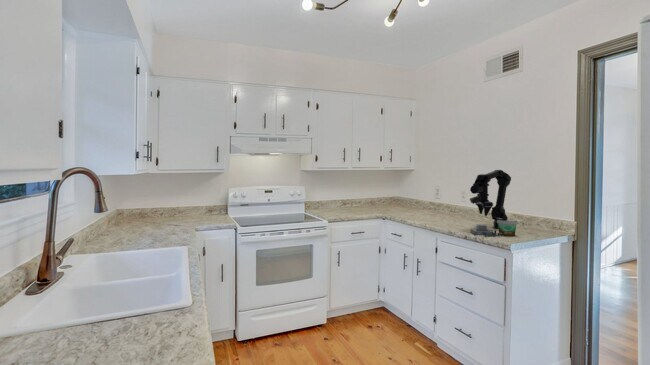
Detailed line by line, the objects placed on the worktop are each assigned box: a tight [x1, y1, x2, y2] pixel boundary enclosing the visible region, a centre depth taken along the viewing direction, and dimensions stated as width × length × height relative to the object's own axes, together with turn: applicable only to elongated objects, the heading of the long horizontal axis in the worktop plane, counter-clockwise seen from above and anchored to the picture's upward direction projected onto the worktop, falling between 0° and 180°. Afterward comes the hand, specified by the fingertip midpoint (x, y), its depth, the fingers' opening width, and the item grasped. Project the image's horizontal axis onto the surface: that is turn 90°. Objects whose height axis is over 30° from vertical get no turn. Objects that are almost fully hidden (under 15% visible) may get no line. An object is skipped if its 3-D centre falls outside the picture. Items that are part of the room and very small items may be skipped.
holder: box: [470, 228, 494, 236], centre depth 210 cm, size 11×10×2 cm
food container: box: [497, 219, 519, 237], centre depth 204 cm, size 12×6×10 cm, turn 80°
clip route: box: [481, 229, 501, 238], centre depth 206 cm, size 11×11×2 cm
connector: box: [475, 223, 488, 231], centre depth 210 cm, size 5×5×6 cm
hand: (483, 214), depth 218 cm, fingers open, 9 cm apart
